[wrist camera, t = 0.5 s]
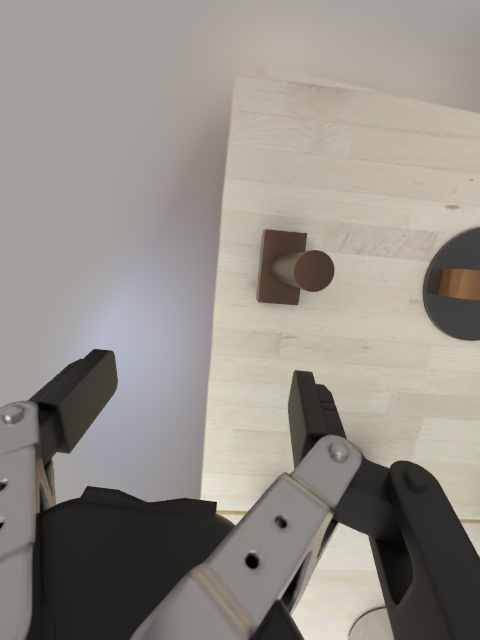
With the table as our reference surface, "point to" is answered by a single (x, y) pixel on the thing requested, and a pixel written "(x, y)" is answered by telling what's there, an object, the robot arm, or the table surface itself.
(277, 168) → the table surface
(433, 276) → the plate
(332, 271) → the wooden peg
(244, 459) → the table surface
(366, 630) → the mug
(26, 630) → the robot arm
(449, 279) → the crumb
